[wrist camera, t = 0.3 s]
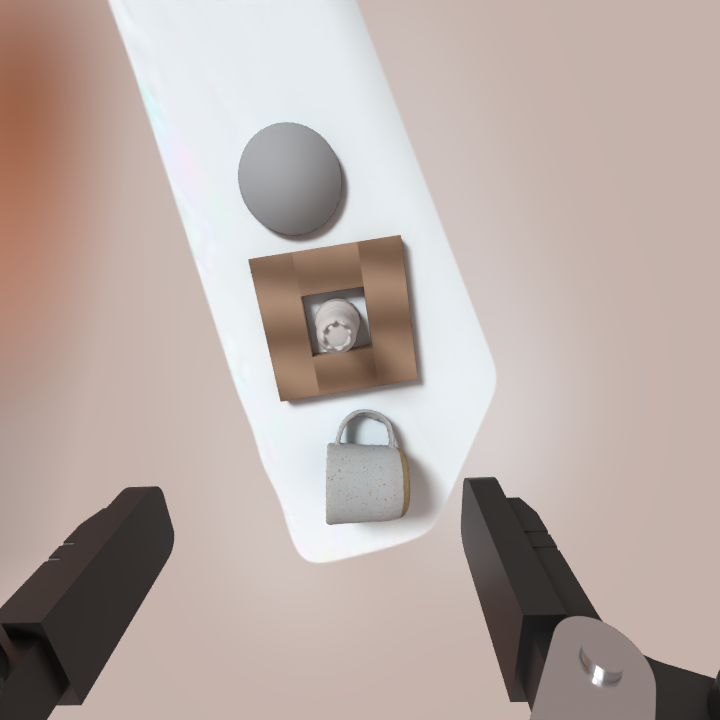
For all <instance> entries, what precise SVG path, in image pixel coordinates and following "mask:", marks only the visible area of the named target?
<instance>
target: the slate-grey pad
mask: <svg viewBox="0 0 720 720" xmlns="http://www.w3.org/2000/svg"><path fill="white" fill-rule="evenodd" d="M238 181H239V188H240V191H241V195H242V198H243V200H244V202H245V204H246V206H247V208H248V209H249V211H250V212H251V213H252V215H253V216H254V217H255V218H256V219H257V220H258V221H259V222H261V223H262V224H263V225H265V226H266V227H268V228H270V229H272V230H274V231H276V232H279V233H282V234H288V235H300V234H305V233H309V232H311V231H314V230H315V229H317V228H319V227H320V226H322V225H323V224H324V223H325V222H326V221H327V220H328V219H329V218H330V217H331V215H332V214H333V212H334V211H335V209H336V207H337V204H338V202H339V198H340V194H341V171H340V167H339V163H338V160H337V158H336V155H335V153H334V151H333V150H332V148H331V147H330V145H329V144H328V143H327V142H326V140H325V139H324V138H323V137H322V136H321V135H319V134H318V133H317V132H315V131H314V130H312V129H310V128H308V127H306V126H303V125H301V124H296V123H288V122H285V123H277V124H273V125H270V126H268V127H266V128H264V129H262V130H261V131H259V132H258V133H257V134H256V135H254V136H253V138H252V139H251V140H250V141H249V142H248V144H247V145H246V147H245V149H244V151H243V153H242V156H241V159H240V163H239V170H238Z"/></svg>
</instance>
